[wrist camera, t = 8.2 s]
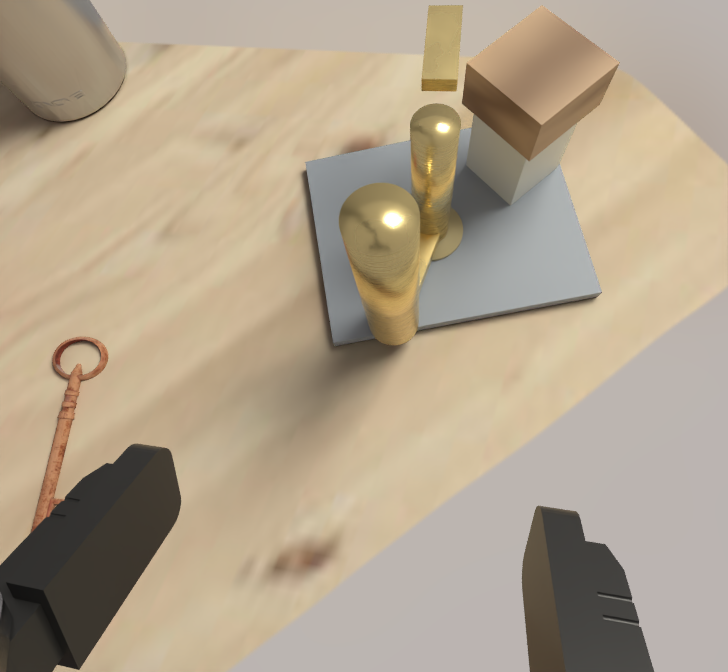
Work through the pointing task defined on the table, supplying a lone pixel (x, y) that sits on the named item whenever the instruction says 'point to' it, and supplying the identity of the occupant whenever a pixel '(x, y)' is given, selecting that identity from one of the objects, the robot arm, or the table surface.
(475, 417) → the table surface
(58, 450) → the key
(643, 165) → the table surface
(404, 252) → the latch handle
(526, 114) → the tan squat block
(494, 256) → the plate
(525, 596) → the robot arm
